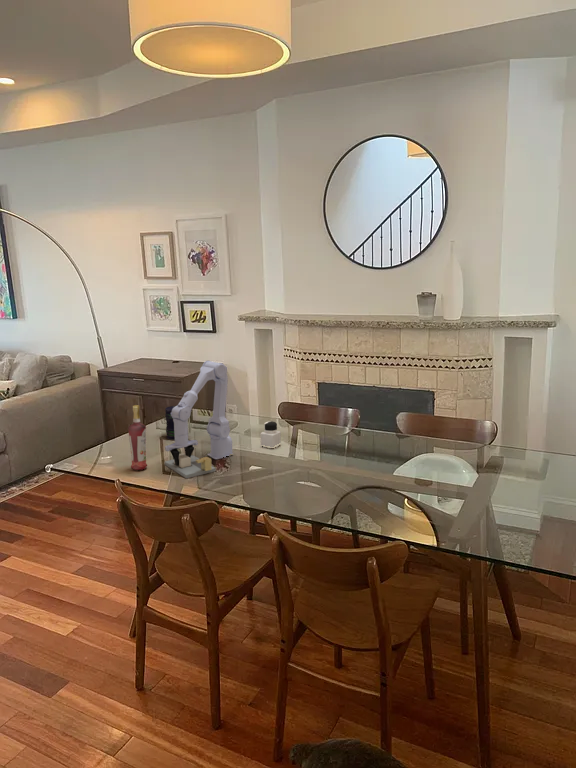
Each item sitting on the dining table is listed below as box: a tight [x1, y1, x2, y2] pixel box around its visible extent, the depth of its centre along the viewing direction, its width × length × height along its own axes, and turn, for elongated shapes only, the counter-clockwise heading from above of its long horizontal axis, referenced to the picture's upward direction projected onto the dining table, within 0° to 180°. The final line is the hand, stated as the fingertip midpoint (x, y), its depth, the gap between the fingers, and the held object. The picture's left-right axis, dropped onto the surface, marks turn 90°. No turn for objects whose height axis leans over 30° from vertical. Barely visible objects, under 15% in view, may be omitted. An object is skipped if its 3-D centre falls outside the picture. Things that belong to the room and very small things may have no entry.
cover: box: [174, 453, 191, 468], centre depth 255 cm, size 4×7×4 cm, turn 37°
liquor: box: [127, 404, 148, 471], centre depth 252 cm, size 7×7×28 cm
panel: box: [164, 454, 217, 479], centre depth 256 cm, size 14×20×2 cm
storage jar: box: [164, 405, 177, 441], centre depth 297 cm, size 10×10×15 cm
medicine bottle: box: [260, 420, 282, 447], centre depth 283 cm, size 7×7×12 cm
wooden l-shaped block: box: [196, 456, 213, 471], centre depth 249 cm, size 6×4×5 cm, turn 127°
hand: (182, 463), depth 256 cm, fingers closed on cover, 4 cm apart
